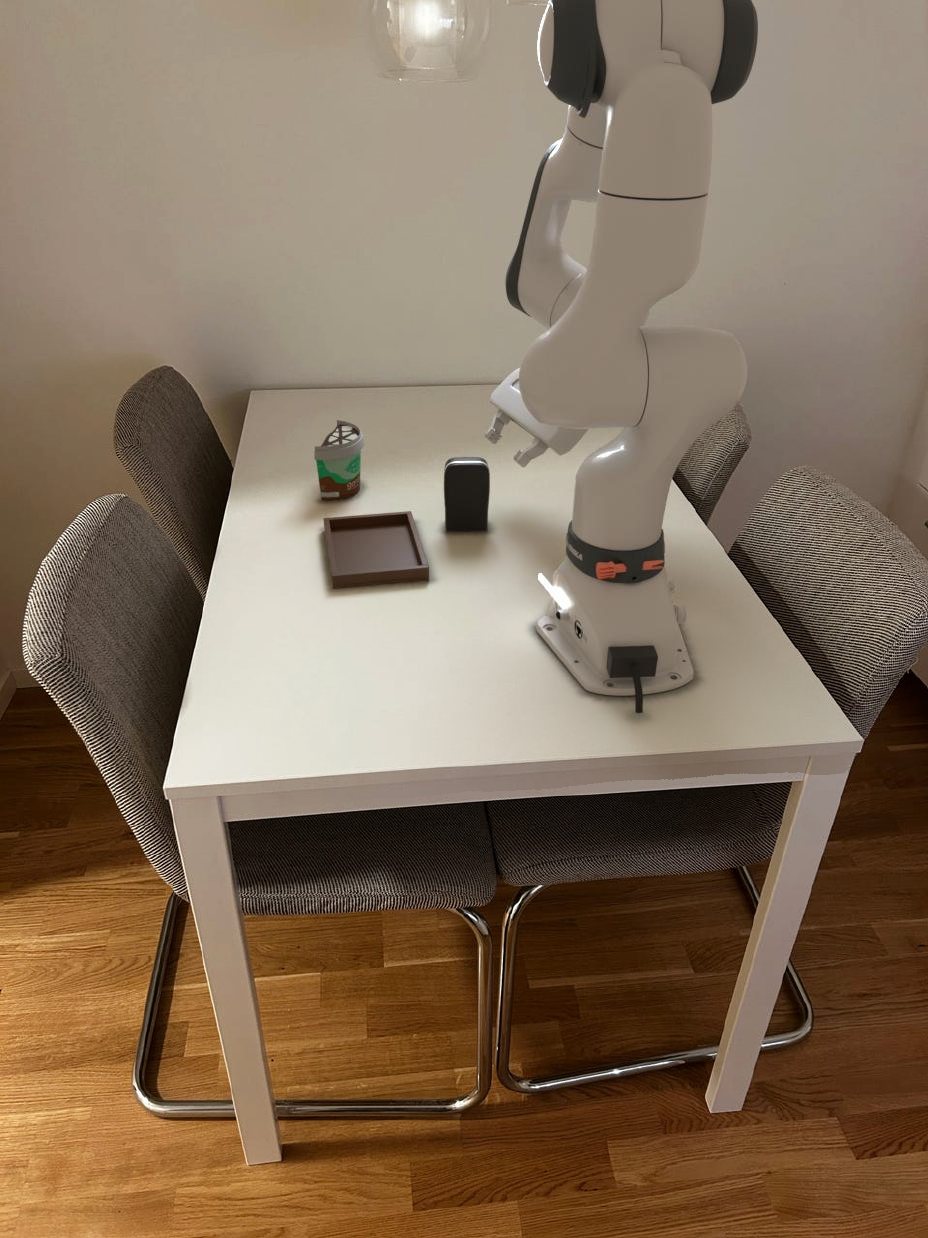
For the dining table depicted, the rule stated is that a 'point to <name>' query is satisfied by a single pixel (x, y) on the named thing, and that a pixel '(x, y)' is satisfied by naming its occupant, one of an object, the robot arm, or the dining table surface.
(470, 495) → the battery charger
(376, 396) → the dining table surface
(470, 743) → the dining table surface
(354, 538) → the tray
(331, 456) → the food container
